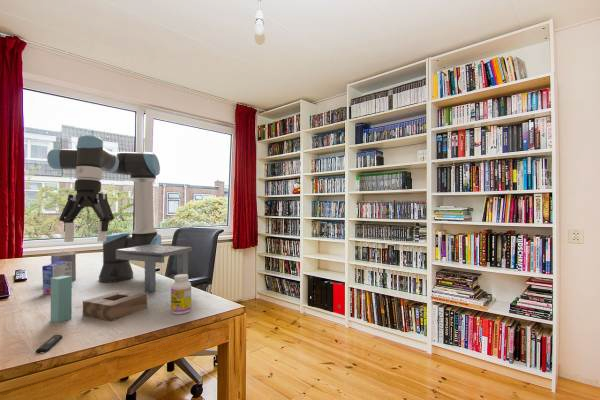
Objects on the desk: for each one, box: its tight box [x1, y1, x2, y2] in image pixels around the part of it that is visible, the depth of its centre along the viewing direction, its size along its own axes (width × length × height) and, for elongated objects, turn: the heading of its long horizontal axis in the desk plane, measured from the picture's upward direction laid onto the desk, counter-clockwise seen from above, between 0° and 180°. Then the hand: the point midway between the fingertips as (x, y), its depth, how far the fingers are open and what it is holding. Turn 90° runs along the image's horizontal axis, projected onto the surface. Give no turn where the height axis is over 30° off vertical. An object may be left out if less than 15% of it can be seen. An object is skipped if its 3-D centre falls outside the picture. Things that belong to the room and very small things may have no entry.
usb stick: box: [35, 334, 63, 354], centre depth 83 cm, size 10×3×2 cm, turn 16°
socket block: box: [82, 289, 148, 322], centre depth 109 cm, size 14×14×5 cm
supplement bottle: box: [170, 274, 192, 316], centre depth 108 cm, size 7×7×13 cm
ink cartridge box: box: [41, 258, 72, 295], centre depth 135 cm, size 10×6×14 cm, turn 174°
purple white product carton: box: [50, 251, 77, 282], centre depth 152 cm, size 10×10×15 cm
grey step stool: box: [116, 244, 193, 293], centre depth 125 cm, size 24×16×20 cm, turn 69°
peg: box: [50, 276, 73, 324], centre depth 101 cm, size 4×4×14 cm
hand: (85, 241), depth 105 cm, fingers open, 13 cm apart
